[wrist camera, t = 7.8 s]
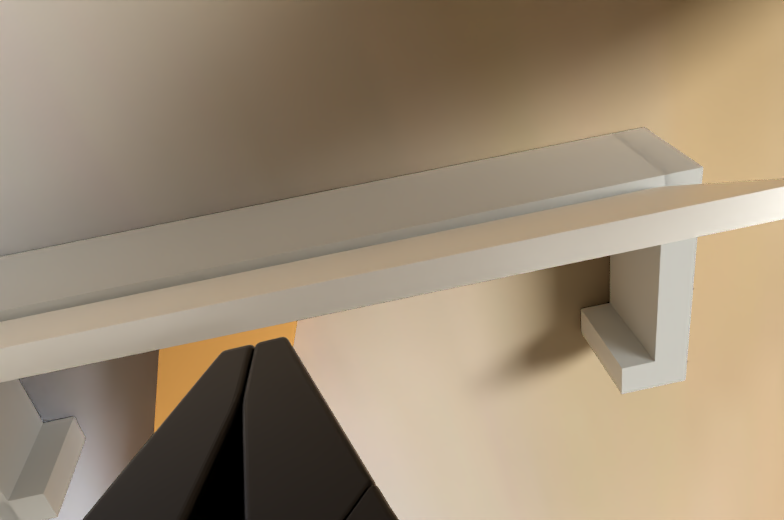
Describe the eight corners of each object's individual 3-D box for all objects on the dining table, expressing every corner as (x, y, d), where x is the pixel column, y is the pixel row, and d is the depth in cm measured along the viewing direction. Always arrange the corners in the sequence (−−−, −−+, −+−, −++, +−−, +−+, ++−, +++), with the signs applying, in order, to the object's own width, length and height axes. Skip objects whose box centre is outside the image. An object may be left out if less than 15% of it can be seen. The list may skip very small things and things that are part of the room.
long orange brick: (175, 254, 20) (162, 300, 18) (297, 267, 21) (298, 314, 19) (156, 531, 25) (143, 594, 23) (252, 534, 26) (249, 595, 24)
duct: (644, 127, 20) (703, 166, 17) (637, 320, 23) (685, 380, 20) (-82, 273, 19) (-146, 340, 16) (25, 451, 22) (-12, 532, 20)
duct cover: (662, 206, 17) (659, 186, 17) (845, 205, 11) (841, 174, 11) (-87, 360, 16) (-92, 340, 16) (-367, 459, 10) (-377, 426, 10)
